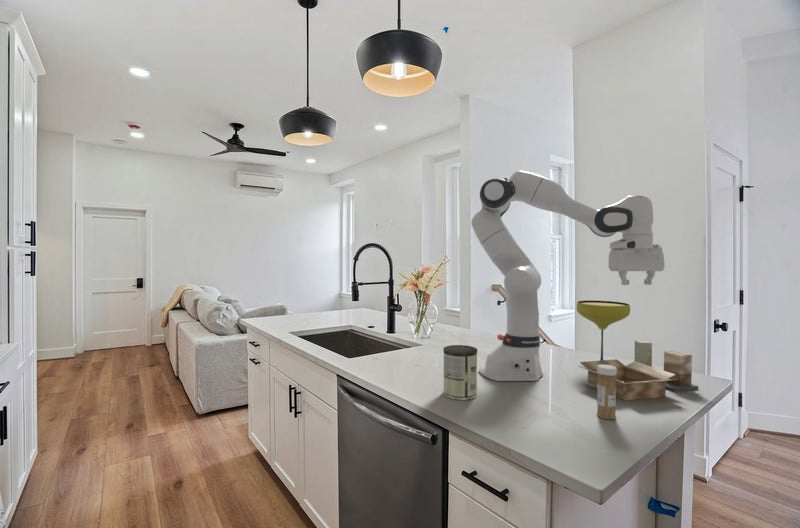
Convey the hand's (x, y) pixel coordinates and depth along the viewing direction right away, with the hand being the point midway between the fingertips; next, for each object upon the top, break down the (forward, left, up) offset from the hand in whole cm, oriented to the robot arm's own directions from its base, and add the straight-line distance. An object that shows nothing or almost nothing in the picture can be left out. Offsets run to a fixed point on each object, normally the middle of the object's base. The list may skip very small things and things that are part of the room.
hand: (636, 284), depth 134 cm
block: (+10, -7, -32) cm, 34 cm away
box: (+14, +10, -33) cm, 38 cm away
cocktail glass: (+1, +16, -33) cm, 37 cm away
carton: (-10, -6, -33) cm, 35 cm away
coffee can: (-63, +3, -33) cm, 71 cm away
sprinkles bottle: (-32, -22, -33) cm, 51 cm away
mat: (+9, -6, -33) cm, 35 cm away
